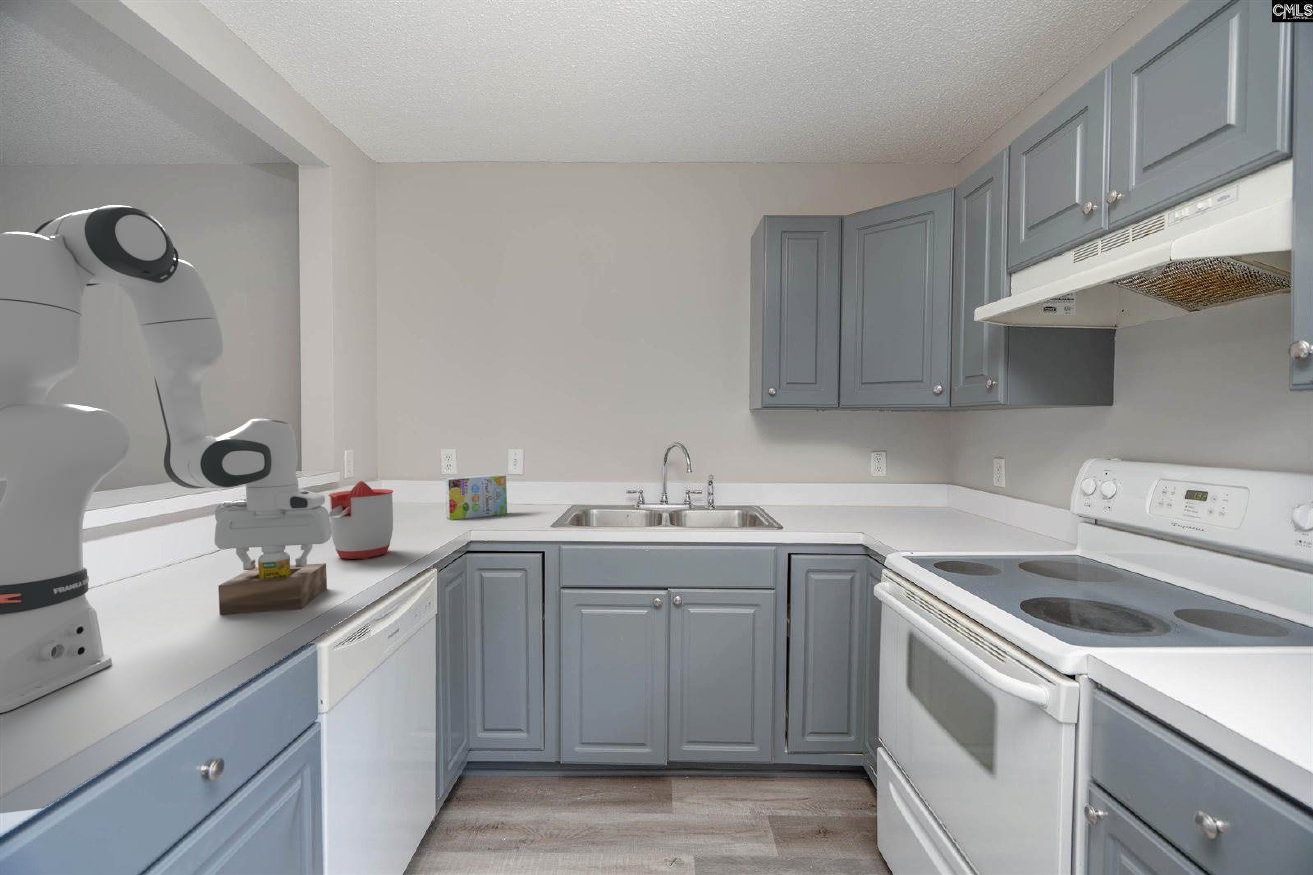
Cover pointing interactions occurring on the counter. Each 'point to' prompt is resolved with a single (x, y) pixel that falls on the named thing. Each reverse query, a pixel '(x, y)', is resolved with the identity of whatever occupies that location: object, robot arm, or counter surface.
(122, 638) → the counter surface
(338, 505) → the citrus juicer
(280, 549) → the supplement bottle
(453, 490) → the snack box
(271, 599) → the socket block
